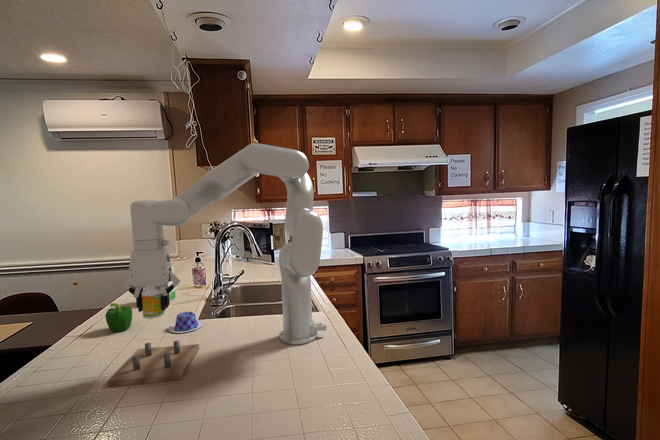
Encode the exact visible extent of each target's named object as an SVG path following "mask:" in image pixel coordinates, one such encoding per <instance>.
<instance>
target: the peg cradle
mask: <svg viewBox="0 0 660 440" xmlns="http://www.w3.org/2000/svg"><path fill="white" fill-rule="evenodd" d="M199 350H200V344H198V343H196V344H187V345H186V344H185V345H180V340H174V341H173V346H172V345H171V346H161V347H152V343H151V342H146V343H144V348H138V349H137V350H136V351H135V352H134V353H133V354H132V355H131V356H130V357H129V358H128V359H126V361H125V362H124V363H123V364H122V365H121V366H120V367H119V369H118V370H117V371H116V372H115V373H113V375H112V376H111V377H110V378H109V379H107V387H118V386H128V385H129V386H131V385H140V384H142V385H143V384H152V383H153V384H154V383H162V382H174V381H182V380H183V378H184V377H185V375H186V373H187V371H188V369H189V367H190V366H191V364H192V362H193V361H194V359H195V357H196V355H197V354H198V352H199Z"/></svg>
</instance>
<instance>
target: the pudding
mask: <svg viewBox="0 0 660 440" xmlns="http://www.w3.org/2000/svg"><path fill="white" fill-rule="evenodd" d="M204 324H205V323H204V321H203V320H199V319H197V317H196V314H195V312H193V311H184V312H180V313H178V314H177V315H176V319H175V322H174V323H173V324H171V325H170V326H169V327H168V329H167V330H168V331H169V332H170V333H177V334H179V333H180V334H181V333H189V332H192V331H196V330H198V329H199V328H202V327H203V326H204Z"/></svg>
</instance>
